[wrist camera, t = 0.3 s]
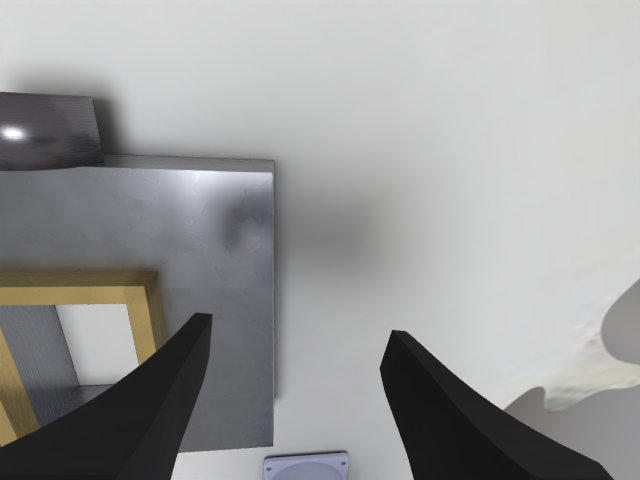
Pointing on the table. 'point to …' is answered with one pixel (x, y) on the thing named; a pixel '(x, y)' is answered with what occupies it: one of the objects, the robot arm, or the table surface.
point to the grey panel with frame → (131, 267)
